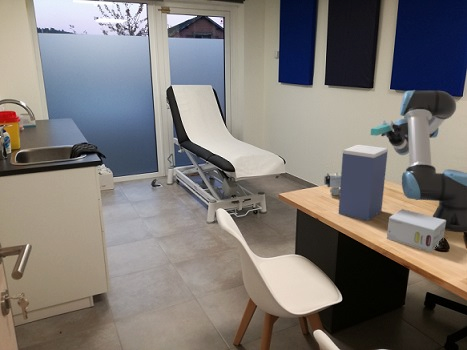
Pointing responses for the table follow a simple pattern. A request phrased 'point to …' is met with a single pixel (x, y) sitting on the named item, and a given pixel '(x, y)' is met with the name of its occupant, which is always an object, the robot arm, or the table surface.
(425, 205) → the table surface
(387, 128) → the bar
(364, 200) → the pedestal
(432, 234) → the supplement box
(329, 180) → the pneumatic valve
